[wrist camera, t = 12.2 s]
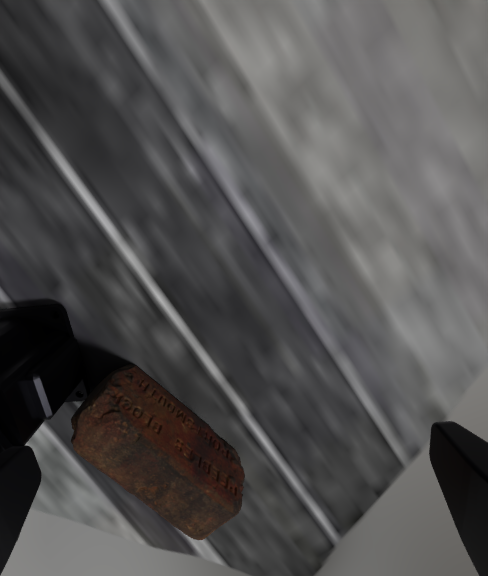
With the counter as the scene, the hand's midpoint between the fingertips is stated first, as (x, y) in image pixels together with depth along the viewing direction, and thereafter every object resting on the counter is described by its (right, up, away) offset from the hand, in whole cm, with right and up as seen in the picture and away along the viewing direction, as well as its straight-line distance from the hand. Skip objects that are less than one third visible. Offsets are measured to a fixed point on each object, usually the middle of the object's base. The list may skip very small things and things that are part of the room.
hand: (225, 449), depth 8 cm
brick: (-4, -5, +16) cm, 18 cm away
